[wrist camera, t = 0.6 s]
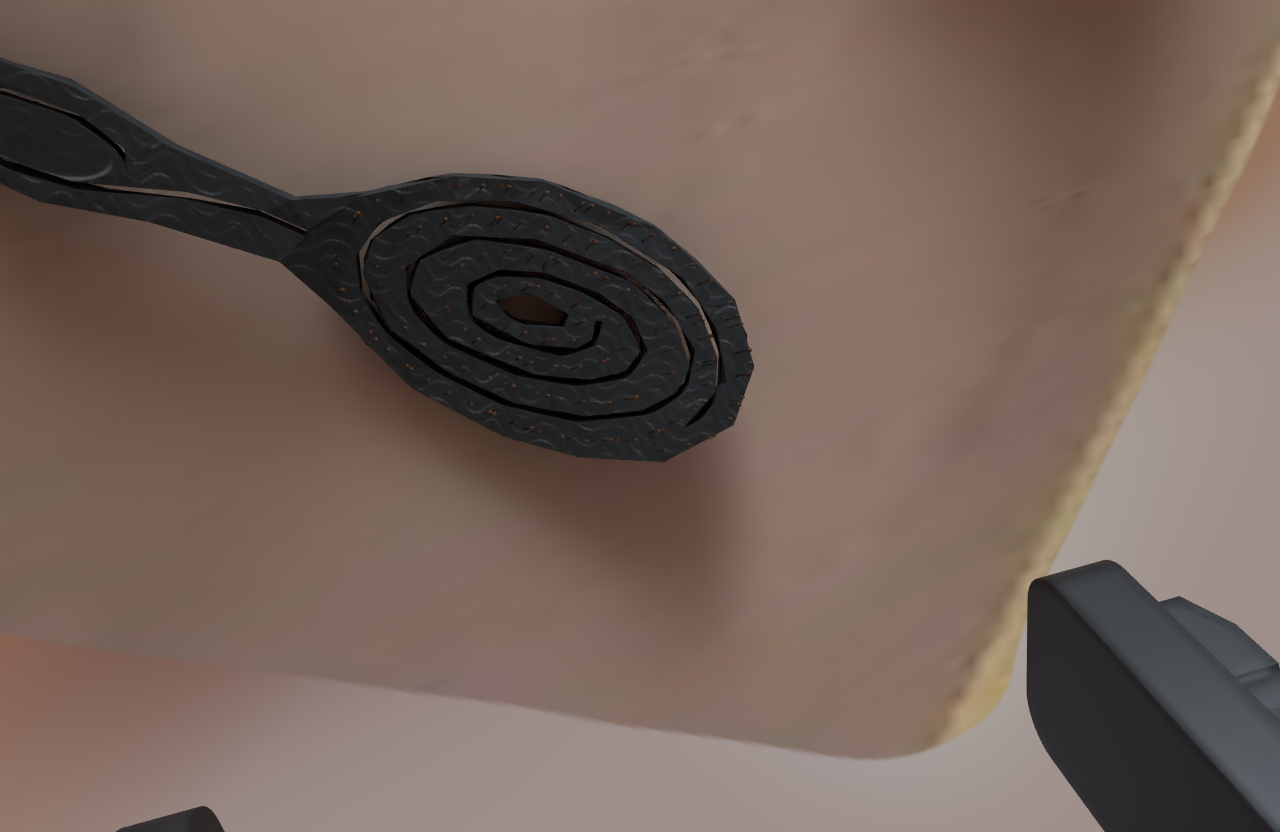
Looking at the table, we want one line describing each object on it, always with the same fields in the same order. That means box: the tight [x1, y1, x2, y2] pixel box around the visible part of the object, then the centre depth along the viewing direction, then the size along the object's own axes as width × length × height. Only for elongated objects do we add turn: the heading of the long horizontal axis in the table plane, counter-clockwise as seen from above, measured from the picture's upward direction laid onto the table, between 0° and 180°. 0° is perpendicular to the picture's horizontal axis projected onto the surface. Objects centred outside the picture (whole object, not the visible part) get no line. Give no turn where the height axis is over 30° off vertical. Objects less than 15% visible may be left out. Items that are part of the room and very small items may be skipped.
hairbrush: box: [0, 58, 754, 462], centre depth 32 cm, size 8×4×25 cm
